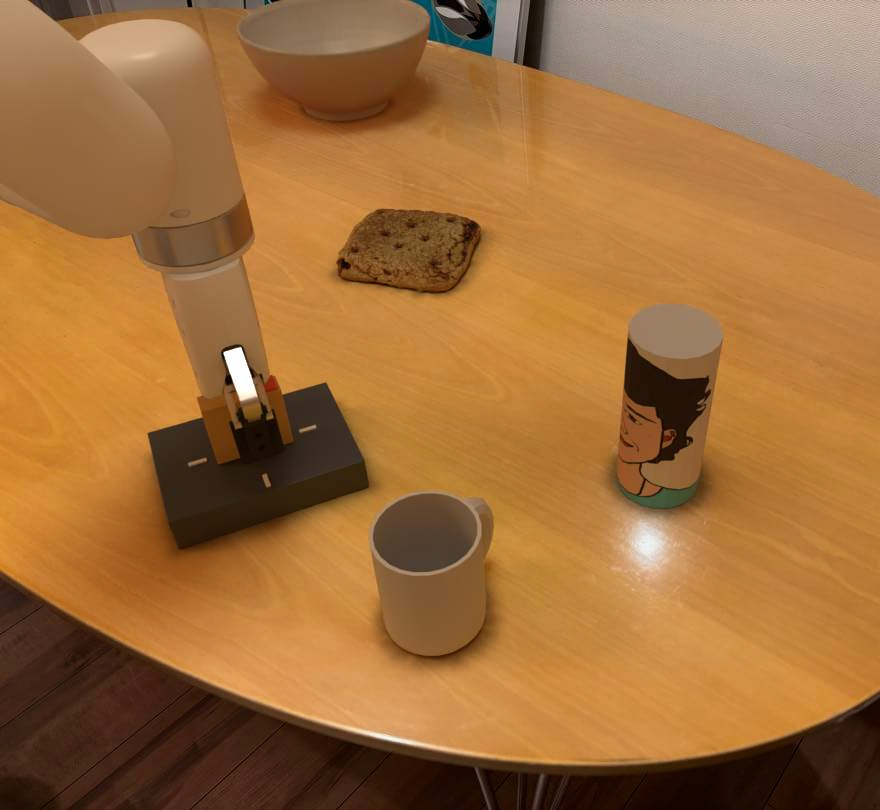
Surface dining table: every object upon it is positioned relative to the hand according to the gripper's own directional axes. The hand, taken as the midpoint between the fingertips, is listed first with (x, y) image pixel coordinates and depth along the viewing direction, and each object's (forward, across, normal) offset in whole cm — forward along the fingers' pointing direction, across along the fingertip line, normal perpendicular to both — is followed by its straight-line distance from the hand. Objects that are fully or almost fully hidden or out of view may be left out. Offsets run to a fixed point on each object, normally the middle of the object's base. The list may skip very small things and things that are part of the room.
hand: (249, 417), depth 69 cm
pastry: (+6, -27, +23) cm, 36 cm away
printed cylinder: (+6, +15, +29) cm, 33 cm away
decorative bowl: (+7, -72, +29) cm, 78 cm away
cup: (+6, +19, +9) cm, 22 cm away
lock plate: (+6, 0, 0) cm, 6 cm away
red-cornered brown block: (+3, 0, 0) cm, 3 cm away
